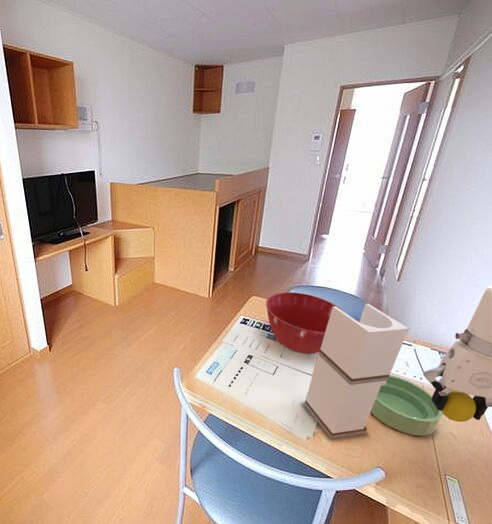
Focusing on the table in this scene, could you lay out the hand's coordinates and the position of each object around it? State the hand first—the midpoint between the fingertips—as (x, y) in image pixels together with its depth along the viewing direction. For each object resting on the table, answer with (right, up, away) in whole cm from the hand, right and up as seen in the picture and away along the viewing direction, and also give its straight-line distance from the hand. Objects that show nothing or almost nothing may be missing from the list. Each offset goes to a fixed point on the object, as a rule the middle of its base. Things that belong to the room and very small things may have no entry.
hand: (454, 409), depth 68 cm
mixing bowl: (-8, 0, +54) cm, 54 cm away
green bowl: (+7, -12, +24) cm, 28 cm away
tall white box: (-14, -13, +21) cm, 29 cm away
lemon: (0, -3, +1) cm, 3 cm away
